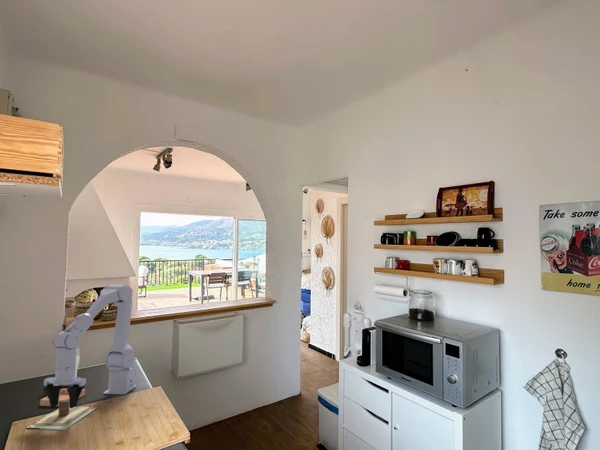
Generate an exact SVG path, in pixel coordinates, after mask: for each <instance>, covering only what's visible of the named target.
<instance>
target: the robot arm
mask: <svg viewBox="0 0 600 450" xmlns="http://www.w3.org/2000/svg"><path fill="white" fill-rule="evenodd" d="M112 303H113V304H114V305H115V306H116V307H117V308H116V317H115V328H114V336H113V344H112V346H110V347H109V348H108V349H107V355H106V357H105V360H104V364H105V366H106V367H107V369H108V370H109V372H108V374H109V375H108V389H107V390H105V391H104V392H103V394H104V395H125V394H128V393H129V392H130V391H132V390H133V389H135V388H136V387H137V385H136V370H135V369H134V368H132V364H133V362H134V360H135V357H134V349H133V347H132V346H131V345H130V344H129V339H130V338H129V337H130V330H131V329H130V328H131V320H132V309H133V289H132V288H131V286H130V285H128V284H106V285H105V287H103V289H101V290H100V294H99V296H98V297H97V299H96V300H95V301H94V302H93V303H92V304H91V306H90V307H89V308H88V309H87V310H86V311H85V313H81V314H78V315H76V316H75V319H74V320H73V321H72V322H70V324H69V325H68V326H67V327H65V329H64V330H62V331H61V332H59V333H57V334H56V335H55V337H54V339H53V341H52V345H53V347H54V348H55V353H56V355H55V356H56V357H55V372H54V373H55V374H54V377H47V378H45V379H44V380H43V386H45V387H44V388H43V392H44V393H45V394H46V397H47V396H48V398H49V401H50V405H51V406H50V408H55V407H58V406H57V405H58V402H59V393H60V390H61V389H62V385H66V386H70V387H69V388H66V389H67V391H68V393H69V398H70V408H73V407H77V404H78V402H79V399H80V398H79V396H80V394H81V392H82V390H83V389H85V387H86V385H87V378H82V377H78V376H77V377H75V369H76V348H77V346H79V345H80V344H81V342H82V339H83V338H82V337H84V334H85V333H86V332H87V331H88V329H89V328H90V327H91V326H92V325H93V324H94V322H95V320H94V318H95V317H96V316H97V315H98V314H99V313H101V312H102V310H103V309H105V307H106V306H108V305H109V304H112Z"/></svg>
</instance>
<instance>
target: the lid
mask: <svg viewBox="0 0 600 450" xmlns="http://www.w3.org/2000/svg"><path fill="white" fill-rule="evenodd" d="M90 408H91V406H75V407H73V408H70V400H69V399H66V400H62V401H60V402H59V406H58V408H57V409H55V410H54V411H51V412H50V413H51V414H50V413H49V415H48V414H46V415H45V416H46V417H45V416H43V417H44V418H43V417H42V418H43V419H41V418H40V419H41V420H40V421H38V420H37V421H38V422H36V421H35V422H36V423H35V426H42V425H69V424H70V423H71V422H73V421H74V420H76V419H77V418H78V417H80V416H81V415H82V414H84V413H85V412H86V411H88V410H89V409H90Z"/></svg>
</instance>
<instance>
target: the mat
mask: <svg viewBox="0 0 600 450" xmlns="http://www.w3.org/2000/svg"><path fill="white" fill-rule="evenodd" d="M92 411H93V410H92V409H90V410H88V411H86V412H85V413H84V414H82V415H81V416H80V417H78V418H77V419H76V420H74V421H73V422H71V423H70V424H69V425H42V426H35V425H31V424H29V425H30V426H31V428H40V429H39V430H49V431H50V430H51V431H52V430H53V431H65V430H68V428H70V427H72V426H73V425H75V424H76V423H78V422H79V421H81V420H83V419H84V418H86V417H87V416H88V414H89V413H90V414H92V413H93V412H94V411H93V412H92ZM91 412H92V413H91ZM51 413H52V412H50V413H49V414H51ZM49 414H47V415H49ZM90 414H89V415H90ZM86 415H87V416H86ZM85 416H86V417H85ZM83 417H84V418H83ZM82 418H83V419H82ZM29 425H27V426H26V427H28V428H30V427H29Z"/></svg>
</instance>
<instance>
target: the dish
mask: <svg viewBox="0 0 600 450" xmlns="http://www.w3.org/2000/svg"><path fill="white" fill-rule="evenodd" d="M67 389H68V388H61V389H60V393H59V402H60V401H62V400H66V399H69V400H70V398H69V393H68V391H67ZM85 395H86V389H85V388H83V390H82V392H81V394H80V396H79V399H80V398H83V397H84V396H85ZM59 402H58V405H57V406H56V407H59ZM39 406H41V407H51V405H50V401H49V398H48V396H47V395H46V397H43V398H41V399H40V401H39Z"/></svg>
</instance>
